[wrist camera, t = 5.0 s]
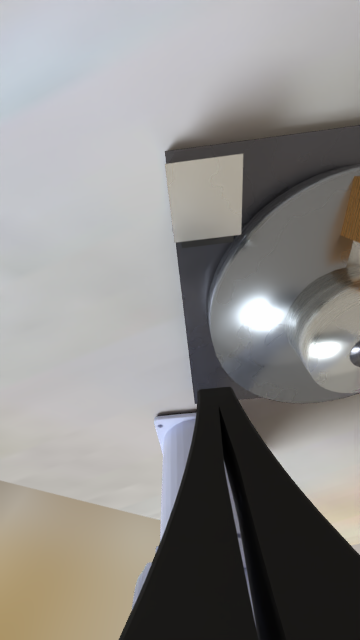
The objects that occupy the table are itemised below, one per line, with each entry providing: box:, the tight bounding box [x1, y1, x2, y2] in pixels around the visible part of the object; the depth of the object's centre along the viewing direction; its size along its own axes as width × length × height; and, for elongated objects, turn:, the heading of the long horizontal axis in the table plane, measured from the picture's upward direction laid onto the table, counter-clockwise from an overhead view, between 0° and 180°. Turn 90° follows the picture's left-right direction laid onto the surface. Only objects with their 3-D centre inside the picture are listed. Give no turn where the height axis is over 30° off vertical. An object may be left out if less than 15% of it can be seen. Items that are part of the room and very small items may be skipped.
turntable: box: [208, 164, 360, 403], centre depth 14 cm, size 15×15×5 cm
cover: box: [285, 266, 360, 393], centre depth 13 cm, size 6×6×3 cm
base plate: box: [165, 125, 360, 404], centre depth 15 cm, size 18×18×3 cm
